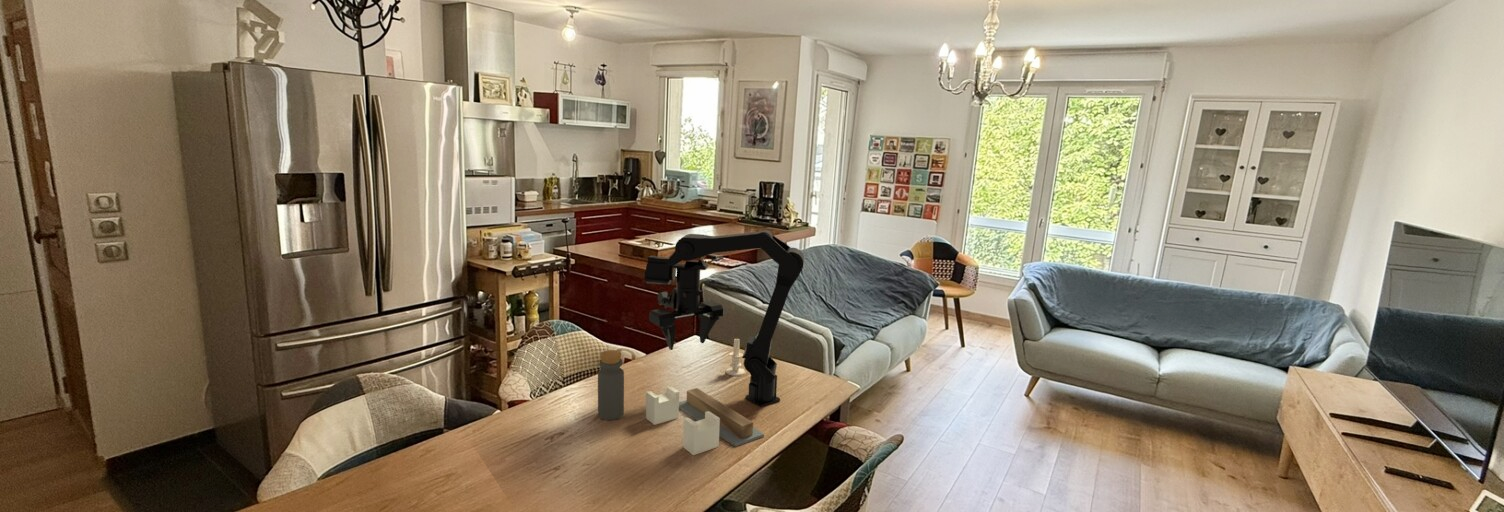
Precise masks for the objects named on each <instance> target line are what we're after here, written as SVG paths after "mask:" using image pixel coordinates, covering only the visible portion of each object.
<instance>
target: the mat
mask: <svg viewBox="0 0 1504 512" xmlns="http://www.w3.org/2000/svg"><path fill="white" fill-rule="evenodd" d="M679 410H682V412H684V413H685V414H687V415H688V416H690V417H691V418H693V419H694V420H695V421H699V420H702V419H705V414H703V413H702V412H700V411H699V410H697V409H696V408H694V407H693V406H691V405H690V404H688V403H687V399H686V400H682V401H679ZM764 437H765V434H764V433H763V432H761V431H760V430H758V429H757V428H755V427H754V426H753V435H752V436H749V437H746V438H743V439H741V438H739V437H738V436H736V435H735V434H733V433H732V432H730V431H729V430H727V429H726V428H724V427H723V426H721V425H720V427H719V438H722V439H724V441H725V442H728V443H729V444H730V445H732V446H733V447H735V448H736V447H738V446H741V445H743V444H747V443H749V442H753V441H756V440H758V439H761V438H764Z"/></svg>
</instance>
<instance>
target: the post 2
mask: <svg viewBox="0 0 1504 512" xmlns="http://www.w3.org/2000/svg"><path fill="white" fill-rule="evenodd" d="M719 427H720V418H719V417H717V416H716V415H714V414H713V413H711V412H710V411H707V412H705V419H702V420H699V421H697V420H695V421H694V420H693V419H691V418H689V416H688V417H684V418H683V427H682V428H683V431H682V435H683V436H682V448H684V449H685V450H686V451H688V452H689V454H691V455H692V456H695V455H698V454H701V453H704V452H707V451H710V450H713V449H717V448H719V447H720V446H719V445H720V436H719Z"/></svg>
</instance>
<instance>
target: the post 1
mask: <svg viewBox="0 0 1504 512" xmlns="http://www.w3.org/2000/svg"><path fill="white" fill-rule="evenodd" d="M679 402H680V390H678V389H676V388H675V387H673V386H672V385H668V386H666V392H664V393H660V394H656V393H653V391H651V390H648V391H645V419H647V420H648V422H650V423H652V425H654V426H656V425H659V424H663V423H666V422H670V421H672V420H676V419H679V418H680V408H679Z"/></svg>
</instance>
